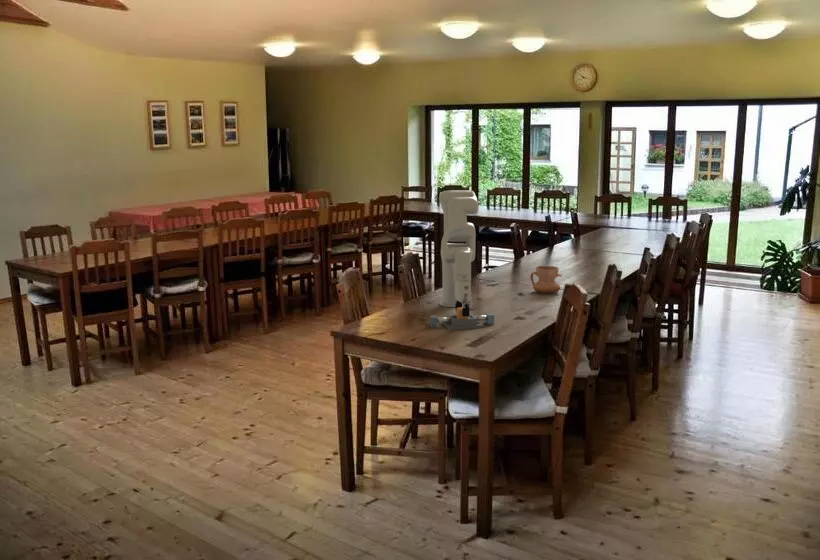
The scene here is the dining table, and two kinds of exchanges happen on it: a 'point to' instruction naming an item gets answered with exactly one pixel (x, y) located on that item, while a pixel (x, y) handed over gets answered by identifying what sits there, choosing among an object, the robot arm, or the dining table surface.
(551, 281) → the ceramic jug
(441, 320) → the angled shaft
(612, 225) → the dining table surface
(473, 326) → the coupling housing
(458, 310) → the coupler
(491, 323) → the straight shaft
